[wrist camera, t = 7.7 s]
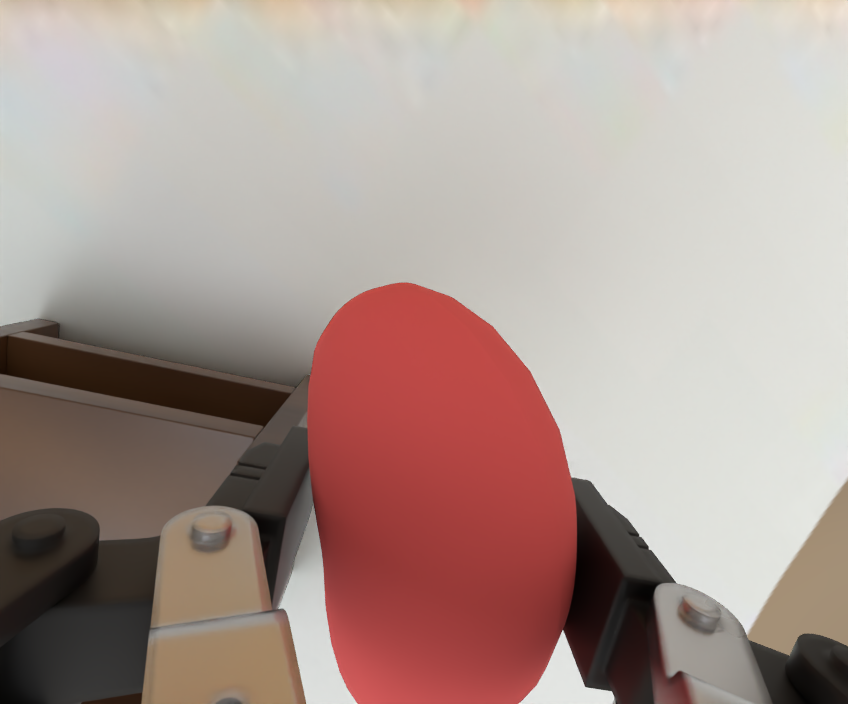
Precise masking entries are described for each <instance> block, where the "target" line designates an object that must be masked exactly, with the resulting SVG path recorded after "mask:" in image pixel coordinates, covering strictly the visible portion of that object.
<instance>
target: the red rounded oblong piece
mask: <svg viewBox="0 0 848 704" xmlns="http://www.w3.org/2000/svg"><path fill="white" fill-rule="evenodd" d="M307 429H308V459H309V468H310V478H311V487H312V496H313V502H314V508H315V514H316V520H317V526H318V532H319V537H320V543H321V549H322V557H323V567H324V584H325V603H326V611H327V618H328V625H329V631H330V637H331V643H332V647H333V650H334V654H335V657H336V660H337V664H338V667H339V671H340V673H341V675H342V677H343V680H344V682H345V684H346V686H347V688H348V690H349V692H350V693H351V695H352V696H353V697H354V699H355V700H356V702H357V703H358V704H518V703H519V702H521V701H522V700H523V699H524V698H525V697H526V696H527V695H528V694H529V693H530V691H531V690H532V689H533V688H534V687H535V686H536V685H537V683H538V681H539V680H540V678H541V676H542V674H543V673H544V671H545V669H546V667H547V665H548V662H549V660H550V658H551V656H552V653H553V651H554V649H555V646H556V644H557V642H558V639H559V637H560V635H561V632H562V630H563V628H564V625H565V623H566V620H567V616H568V613H569V609H570V606H571V601H572V596H573V590H574V583H575V574H576V559H577V514H576V501H575V493H574V489H573V484H572V480H571V476H570V472H569V468H568V463H567V459H566V455H565V451H564V447H563V442H562V438H561V434H560V430H559V428H558V426H557V424H556V422H555V420H554V418H553V416H552V414H551V412H550V410H549V408H548V406H547V404H546V402H545V400H544V398H543V396H542V394H541V392H540V390H539V388H538V386H537V384H536V382H535V380H534V378H533V376H532V374H531V372H530V371H529V369H528V368H527V367H526V366H525V365H524V363H523V362H522V361H521V360H520V359H519V357H518V356H517V355H516V354H515V353H514V351H513V350H512V349H511V348H510V347H509V345H508V344H507V343H506V342H505V341H504V339H503V338H502V337H501V336H500V335H499V333H498V332H497V331H496V330H495V329H494V327H493V326H491V325H490V324H489V323H487V322H486V321H484V320H483V319H482V318H480V317H479V316H477V315H476V314H475V313H473V312H472V311H470V310H469V309H468V308H466V307H465V306H464V305H462V304H461V303H459V302H458V301H457V300H455V299H454V298H452V297H450V296H447V295H444V294H442V293H439V292H436V291H433V290H430V289H427V288H424V287H422V286H419V285H416V284H412V283H395V284H390V285H386V286H382V287H378V288H374V289H371V290H368V291H365V292H363V293H361V294H359V295H357V296H356V297H354V298H353V299H351V300H350V301H349V302H347V303H346V304H345V305H344V306H343V307H342V308H340V309H339V310H338V312H337V313H336V314H335V315H334V316H333V318H332V319H331V321H330V322H329V324H328V325H327V327H326V328H325V330H324V332H323V333H322V335H321V337H320V339H319V340H318V342H317V345H316V348H315V351H314V356H313V363H312V369H311V375H310V380H309V385H308V412H307Z"/></svg>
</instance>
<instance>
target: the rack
mask: <svg viewBox="0 0 848 704" xmlns="http://www.w3.org/2000/svg"><path fill="white" fill-rule="evenodd" d="M58 336H59V323H56V322H51V321H47V320H42V319H34V320H29V321H24V322H19V323H14V324H9V325H5V326H0V521H1V520H3V519H5V518H8V517H11V516H14V515H17V514H20V513H24V512H28V511H33V510H39V509H47V508H68V509H75V510H79V511H83V512H85V513H88V514H90V515H91V516H93V517H94V518H95V519H96V520H97V521H98V523H99V526H100V535H99V540H121V539H140V538H150V537H155V536H160V535H161V532H162V529H163V527H164V526H165V524H166V523H167V522H168V521H169V520H170V519H172V518H173V517H174V516H176V515H178V514H180V513H182V512H184V511H187V510H190V509H193V508H198V507H203V506H206V504H207V503H208V502H209V500H210V499H211V498H212V496H213V495H214V494H215V492H216V491H217V490H218V488H219V487H220V486H221V484H222V483H223V482H224V480H225V479H226V478H227V477H228V475H230V473H231V471H232V470H233V469H234V467H235V466H236V465H238V462H239V461H240V459H241V458H242V457H243V455H244V454H245V453H246V452H247V450H249V449H251V448H253V447H255V446H257V445H259V444H261V443H263V442H268V443H273V444H279V445H281V444H282V442H283V441H284V439H285V437H286V436H287V434H288V433H289V431H290V429H291V428H292V426H293V425H294V426H299V427H305V428H307V412H308V385H309V380H310V375H306V377H305V378H304V379H303V380H302V381H301V383H300V384H299V385H298V386H297V388H295V387H292V386H287V385H282V384H277V383H272V382H267V381H262V380H257V379H253V378H248V377H243V376H238V375H233V374H228V373H223V372H218V371H214V370H209V369H204V368H199V367H194V366H189V365H184V364H179V363H174V362H170V361H165V360H160V359H155V358H150V357H145V356H140V355H135V354H131V353H126V352H121V351H116V350H111V349H106V348H101V347H96V346H91V345H87V344H82V343H77V342H72V341H67V340H62V339H58ZM293 563H294V562H293ZM292 568H293V564H292V567H291V570H290V573H289V576H288V578H287V581H286V584H285V587H284V590H283V592H282V595H281V598H280V601H279V603H278V606H277V609H278V608H279V606H280V603H281V600H282V598H283V595H284V592H285V590H286V587H287V584H288V582H289V579H290V576H291V573H292ZM142 694H143V693H136V694H130V695H124V696H117V697H111V698H105V699H98V700H92V701H86V702H82V703H81V704H141V703H142Z"/></svg>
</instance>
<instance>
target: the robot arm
mask: <svg viewBox="0 0 848 704" xmlns="http://www.w3.org/2000/svg"><path fill="white" fill-rule="evenodd" d="M571 480H572V484H573V489H574V493H575V501H576V514H577V559H576V574H575V583H574V590H573V596H572V601H571V606H570V609H569V613H568V616H567V620H566V623H565V625H564V628H563V630H564V633H565V635H566V638H567V641H568V643H569V646H570V648H571V651H572V654H573V656H574V659H575V661H576V664H577V667H578V669H579V672H580V674H581V677H582V679H583V682H584V685H585V687H588V688H595V689H601V690H608V691H612V692H613V694H614V697H615V698H614V701H613V704H848V646H846V645H844V644H842V643H839V642H837V641H835V640H832V639H830V638H827V637H824V636H821V635H816V634H803V635H801V636H799V637H798V639H797V641H796V643H795V645H794V647H793V650H792V652H791V654H790V656H789V655H786V654H783V653H781V652H778V651H776V650H773V649H771V648H768V647H765V646H763V645H760V644H757V643H755V642H752V641H749V640H748V638H747V635H746V633H745V630H744V628H743V626H742V625H741V623H740V622H739V621H738V620H737V618H736V617H735V616H734V615H733V614H732V613H731V612H730V611H729V610H728V609H726V608H725V607H724V606H723V605H721V604H720V603H719V602H717V601H716V600H714V599H713V598H711V597H709V596H708V595H706V594H704V593H702V592H700V591H698V590H695V589H693V588H691V587H688V586H685V585H681V584H677V583H676V582H675V581H674V579H673V578H672V577H671V575H670V574H669V573H668V571H667V570H666V569H665V568H664V566H663V565H662V564H661V562H660V561H659V560H658V558H657V557H656V556H655V554H654V553H653V552H652V551H651V550H649V549H648V548H649V547H648V545H647V544H646V543H645V541H644V540H643V539H642V537H639V534H638V532H637V531H636V530H635V528H634V527H633V526H632V524H631V523H630V522H629V520H628V519H627V518H625V517H624V516H623V515H621V514H620V513H619V512H618V511H616V510H615V509H614V508H613V507H611V506H610V505H607V503H606V502H605V500H604V499H603V498H602V496H601V495H600V494H599V492H598V491H597V490H596V488H595V487H594V485H593V484H592V483H591V482H590V481H588V480H583V479H577V478H572V477H571ZM312 505H313V496H312V487H311V478H310V468H309V459H308V429H307V428H305V427H299V426H294V425H293V426H292V428H291V429H290V431H289V433H288V434H287V436H286V437H285V439H284V441H283V442H282V444H281V445H279V444H273V443H268V442H263V443H261V444H259V445H257V446H255V447H253V448H251V449H249V450H247V452H246V453H245V454H244V455H243V457H242V458H241V459H240V461H239V462H238V465H236V466H235V467H234V469H233V470H232V471H231V473H230V475H228V477H227V478H226V479H225V480H224V482H223V483H222V484H221V486H220V487H219V488H218V490H217V491H216V492H215V494H214V495H213V496H212V498H211V499H210V500H209V502H208V503H207V504H206V506H203V507H198V508H193V509H190V510H187V511H184V512H182V513H180V514H178V515H176V516H174V517H173V518H172V519H170V520H169V521H168V522H167V523H166V524H165V526H164V527H163V529H162V532H161V535H160V536H155V537H150V538H140V539H121V540H99V535H100V526H99V523H98V521H97V520H96V519H95V518H94V517H93V516H91V515H90V514H88V513H85V512H83V511H79V510H75V509H68V508H47V509H39V510H33V511H28V512H24V513H20V514H17V515H14V516H11V517H8V518H5V519H3V520H1V521H0V704H81V703H82V702H86V701H92V700H98V699H105V698H111V697H117V696H124V695H130V694H136V693H143V694H142V703H141V704H306V700H305V696H304V691H303V686H302V681H301V676H300V672H299V667H298V662H297V657H296V653H295V648H294V643H293V638H292V633H291V629H290V624H289V620H288V616H287V613H286V611H285V610H284V609H277V606H278V603H279V601H280V598H281V595H282V592H283V590H284V587H285V584H286V581H287V578H288V576H289V573H290V570H291V567H292V564H293V562H294V559H295V556H296V553H297V550H298V548H299V545H300V542H301V539H302V536H303V534H304V531H305V528H306V525H307V523H308V520H309V516H310V513H311V509H312Z"/></svg>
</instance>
